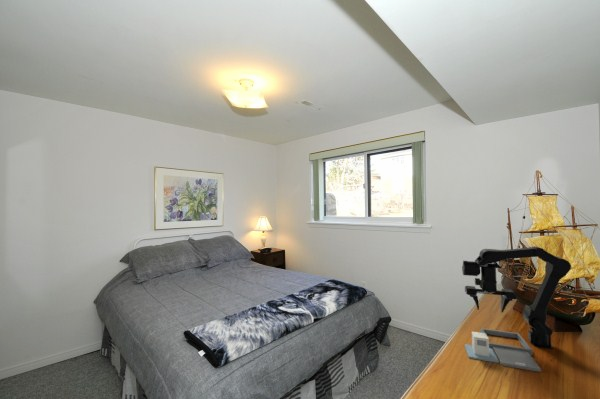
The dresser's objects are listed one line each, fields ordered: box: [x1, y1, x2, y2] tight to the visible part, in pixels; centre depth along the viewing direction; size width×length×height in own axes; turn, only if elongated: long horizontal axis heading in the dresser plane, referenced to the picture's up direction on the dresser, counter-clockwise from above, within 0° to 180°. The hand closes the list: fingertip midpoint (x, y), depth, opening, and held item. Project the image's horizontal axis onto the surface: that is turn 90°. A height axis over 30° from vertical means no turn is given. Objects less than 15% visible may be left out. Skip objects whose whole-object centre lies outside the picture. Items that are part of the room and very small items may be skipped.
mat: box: [463, 343, 500, 364], centre depth 110 cm, size 10×10×1 cm
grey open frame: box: [479, 327, 542, 373], centre depth 113 cm, size 15×27×2 cm, turn 157°
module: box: [471, 331, 490, 357], centre depth 110 cm, size 5×5×7 cm
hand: (489, 310), depth 124 cm, fingers open, 9 cm apart
